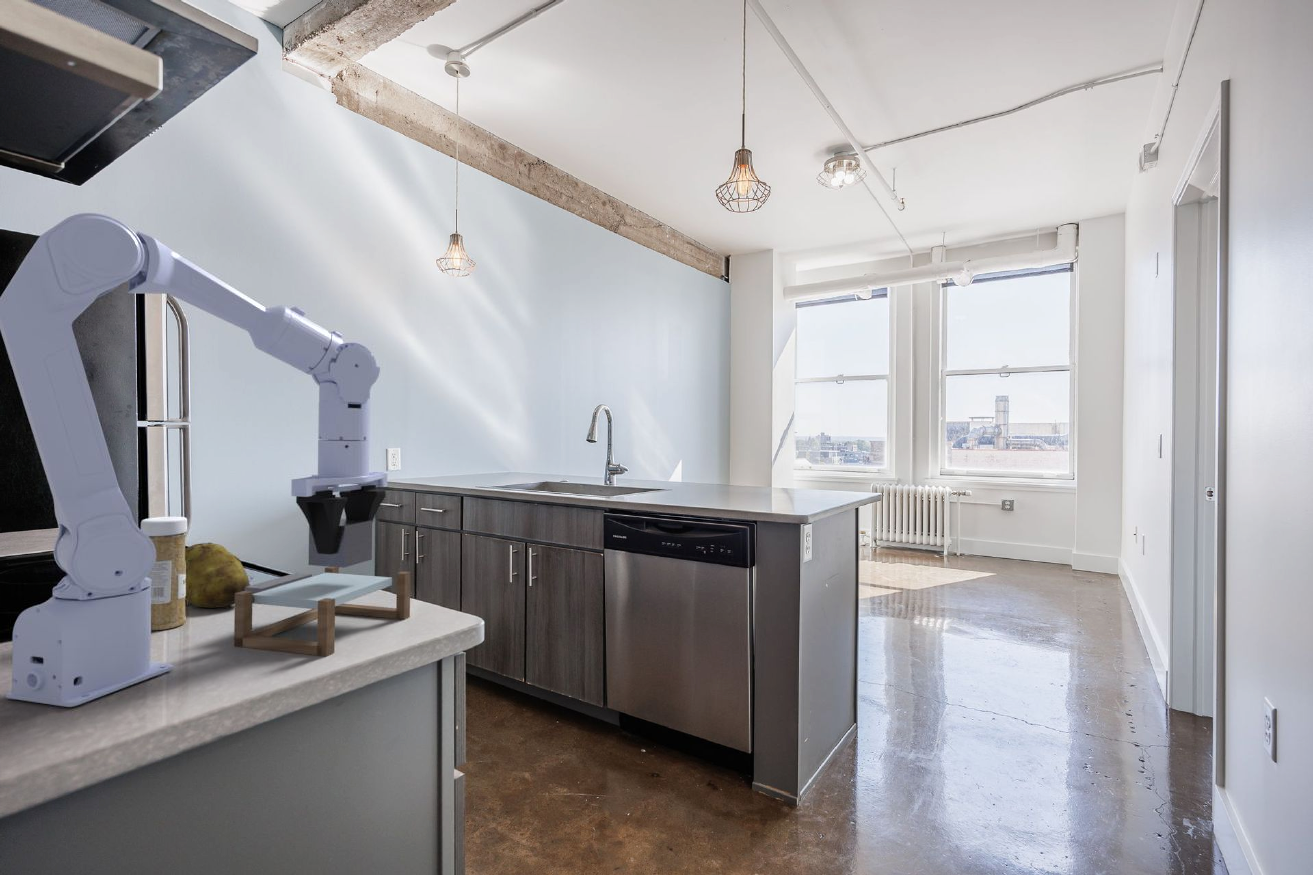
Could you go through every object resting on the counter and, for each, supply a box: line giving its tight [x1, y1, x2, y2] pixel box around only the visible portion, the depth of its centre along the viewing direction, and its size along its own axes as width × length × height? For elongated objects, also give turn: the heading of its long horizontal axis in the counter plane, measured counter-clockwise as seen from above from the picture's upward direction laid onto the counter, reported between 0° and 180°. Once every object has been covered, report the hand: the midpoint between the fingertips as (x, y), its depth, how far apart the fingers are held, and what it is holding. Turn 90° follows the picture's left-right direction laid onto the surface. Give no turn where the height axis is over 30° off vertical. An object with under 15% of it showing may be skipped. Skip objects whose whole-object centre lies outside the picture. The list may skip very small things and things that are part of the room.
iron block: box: [308, 518, 373, 568], centre depth 78 cm, size 5×5×5 cm
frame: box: [233, 566, 411, 657], centre depth 78 cm, size 15×12×6 cm
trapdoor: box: [245, 572, 393, 610], centre depth 78 cm, size 12×13×1 cm
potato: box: [185, 542, 251, 609], centre depth 89 cm, size 8×13×8 cm, turn 40°
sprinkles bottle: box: [140, 515, 188, 632], centre depth 78 cm, size 5×5×14 cm
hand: (342, 549), depth 78 cm, fingers closed on iron block, 5 cm apart
